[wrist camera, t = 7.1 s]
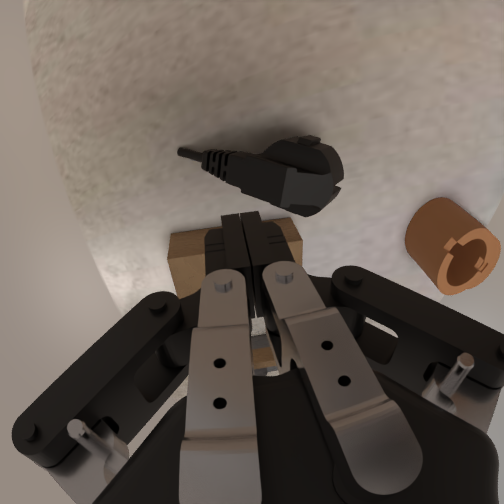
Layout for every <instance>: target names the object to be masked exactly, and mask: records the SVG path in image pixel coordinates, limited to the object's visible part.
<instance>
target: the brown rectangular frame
mask: <svg viewBox="0 0 504 504" xmlns="http://www.w3.org/2000/svg"><path fill="white" fill-rule="evenodd" d="M271 221H273V222H274V223H276V224H277V225H278V226H280V227H281V229H282V232H283V234H284V236H285V239H286V242H287V243H288V246H289V248H290V250H291V253H292V255H293V258H294V260H295V262H296V263H297V264H299V265H301V266H302V249H303V240H302V238H301V236H300V234H299V232H298V230H297V229H296V227H295V225H294V223H293V221H292V219H291V217H290V218H282V219H274V220H266V221H262V223H263V222H271ZM217 228H222V226H221V227H214V228H207V229H200V230H193V231H186V232H179V233H173V234H171V236H170V243H169V250H168V257H167V260H168V264H169V268H170V271H171V275H172V279H173V282H174V286H175V289H176V293H177V296H178V298H179V299H181V298H184V297H186V296H189V295H191V294H193V293H195V292H196V291H198V290H199V289H200V288H201V284H202V281H203V279H204V278H205V245H204V237H205V235H206V234H207V232H208V231H209V230H210V229H217ZM252 351H253V363H254V369H260V368H266V367H272V366H277V365H276V362H275V360H274V357H273V354H272V351H271V348H270V347H265V348H259V349H253V350H252Z"/></svg>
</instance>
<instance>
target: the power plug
mask: <svg viewBox="0 0 504 504" xmlns="http://www.w3.org/2000/svg"><path fill="white" fill-rule="evenodd" d="M320 140H321V138H319V137H315V136H311V135H308V136H303V137H298V136H297V137H292V138H287V139H283V140H280V141H277V142H276V143H274V144H272V145H271V146H270V147H268V148H267V149H266V150H265V151H264V152H263V153H261V154H252V153H248V152H237V151H228V150H225V151H224V150H215V149H210V150H206V151H204V152H203V153H200V152H196V151H192V150H188V149H184V148H179V149H178V151H177V154H178V155H179V156H182V157H185V158H189V159H192V160H196V161H199V162H202V164H201V168H202V169H203V170H205V171H207V172H208V171H209V173H210V174H212V175H214V176H215V177H217V178H219V177H220V179H221V180H222V181H226V183H228V184H230V185H233V186H236V187H239V188H240V189H241V193H244V194H247V195H249V196H252V197H255V198H258V199H261V200H263V201H266V202H269V203H270V204H271V205H274V206H277V207H279V208H282V209H285V210H286V211H289V212H292V213H294V214H298V215H301V216H303V217H309V216H312V215H314V214H316V213H318V212H319V211H321V210H322V209H323V208H324V207H325V206H326V205H328V204H329V203H330V202H331V201H332V200H333V199H334V198H335V197H336V196H337V195H338V193H339V192H340V190H341V188H340V187H338V186H335V185H336V184H337V183H339V182H340V181H341V180H343V179H344V170H343V165H342V162H341V159H340V157H339V155H338V154H337V152H336V151H335V149H334V148H333V147H332V146H329V145H326V144H323V143H320Z"/></svg>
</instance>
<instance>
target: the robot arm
mask: <svg viewBox="0 0 504 504" xmlns="http://www.w3.org/2000/svg"><path fill="white" fill-rule="evenodd" d="M240 220H241V221H240ZM221 221H222V228H217V229H210V230H209V231H208V232H207V234H206V235H205V237H204V245H205V278H204V279H203V281H202V284H201V288H200V289H199V290H198V291H196V292H195V293H193V294H191V295H189V296H186V297H184V298H181V299H179V298H178V297H177V296H176V295H175V294H173V293H171V292H166V291H161V292H155V293H152V294H150V295H148V296H146V297H145V298H143V299H142V300H141V301H140V302H139V303H138V304H137V305H136V306H135V307H133V308H132V309H131V310H130V311H129V312H128V313H127V314H126V315H125V316H124V317H122V318H121V319H120V320H119V321H118V322H117V323H116V324H115V325H114V326H113V327H112V328H110V329H109V330H108V331H107V332H106V333H105V334H104V335H103V336H102V337H101V338H100V339H99V340H97V341H96V342H95V343H94V344H93V345H92V346H91V347H90V348H89V349H88V350H87V351H86V352H85V353H84V354H83V355H82V356H80V357H79V358H78V360H76V361H75V362H74V363H73V364H72V365H71V366H70V367H69V368H68V369H67V370H66V371H65V372H64V373H63V374H62V375H61V376H60V377H59V378H58V379H56V380H55V381H54V382H53V383H52V384H51V385H50V386H49V387H48V388H47V389H46V390H45V391H44V392H43V393H42V394H41V395H40V396H39V397H38V398H37V399H36V400H35V401H34V402H33V403H32V404H31V405H30V406H29V407H28V408H27V409H26V410H25V411H24V412H23V413H22V414H21V415H20V416H19V417H18V418H17V420H16V421H15V423H14V425H13V428H12V441H13V444H14V446H15V448H16V449H17V450H18V451H19V452H20V453H22V454H23V455H25V456H26V457H28V458H29V459H31V460H32V461H34V463H36V464H37V465H38V466H40V467H41V468H43V469H45V470H46V471H48V472H49V474H50V475H51V476H52V477H53V478H54V480H55V481H56V482H57V483H58V484H59V485H60V486H61V488H62V489H63V490H64V491H65V492H66V493H67V494H68V495H69V496H70V497H71V498H72V500H73V501H74V502H75V503H76V504H499V501H498V471H499V460H498V454H497V450H496V448H495V445H494V444H493V442H492V440H491V439H490V438H489V436H488V435H487V434H486V433H487V431H488V428H489V425H490V422H491V420H492V417H493V414H494V410H495V407H496V404H497V401H498V397H499V394H500V391H501V388H503V386H504V334H502V333H500V332H498V331H496V330H494V329H491V328H490V327H488V326H486V325H484V324H482V323H480V322H478V321H476V320H473V319H471V318H469V317H467V316H465V315H463V314H461V313H459V312H457V311H455V310H453V309H450V308H448V307H446V306H444V305H442V304H440V303H438V302H436V301H434V300H432V299H429V298H427V297H425V296H423V295H421V294H419V293H417V292H414V291H412V290H410V289H408V288H406V287H404V286H401V285H399V284H397V283H395V282H393V281H390V280H388V279H386V278H384V277H382V276H379V275H377V274H375V273H373V272H371V271H368V270H366V269H364V268H361V267H358V266H343V267H340V268H338V269H336V270H335V271H334V272H333V274H332V278H328V277H316V276H312V275H309V274H307V273H306V271H305V270H304V268H303V267H302V266H301V265H299V264H297V263H296V262H295V260H294V258H293V255H292V253H291V250H290V248H289V246H288V243H287V242H286V239H285V236H284V234H283V232H282V229H281V227H280V226H278V225H277V224H276V223H274V222H273V221H271V222H263V223H262V220H261V218H260V215H259V212H258V211H254V212H246V213H240V217H239V213H238V214H231V215H223V216H221ZM254 305H255V310H256V315H257V318H258V317H264V320H265V327H266V336H267V339H268V342H269V345H270V348H271V351H272V354H273V357H274V360H275V362H276V365H277V368H278V371H279V375H278V376H255V375H254V363H253V351H252V339H251V332H252V321H251V318H255V310H254ZM366 317H368V318H370V319H372V320H374V321H376V322H378V323H380V324H382V325H384V326H386V327H388V328H390V329H392V330H393V331H394V332H395V333H396V334H397V336H398V338H397V337H394V336H392V335H391V334H389V333H387V332H385V331H383V330H381V329H379V328H377V327H375V326H373V325H371V324H369V323H367V322H365V320H366ZM188 375H189V376H188ZM187 376H188V390H187V396H185V397H183V398H182V399H181V400H179V401H178V402H177V403H175V404H174V406H172V407H171V408H170V409H169V410H168V411H167V413H166V414H165V415H164V416H163V418H162V419H161V420H160V421H159V423H158V424H157V425H156V427H155V428H154V429H153V430H152V431H151V433H150V434H149V435H148V436H147V438H146V439H145V440H144V441H143V443H142V444H141V445H140V446H139V448H138V449H137V450H136V451H135V452H134V454H133V455H132V456H131V457H130V459H129V450H128V447H127V445H128V444H129V443H130V441H131V440H132V439H133V438H134V437H135V436H136V435H137V433H138V432H139V431H140V430H141V429H142V428H143V427H144V426H145V425H146V423H147V422H148V421H149V420H150V419H151V418H152V417H153V415H154V414H155V413H156V412H157V411H158V410H159V408H160V407H161V406H162V405H163V404H164V402H166V400H167V399H168V398H169V397H170V396H171V395H172V393H173V392H174V391H175V390H176V389H177V388H178V386H179V385H180V384H181V383H182V382H183V381H184V379H185V378H186V377H187ZM128 459H129V460H128Z"/></svg>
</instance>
